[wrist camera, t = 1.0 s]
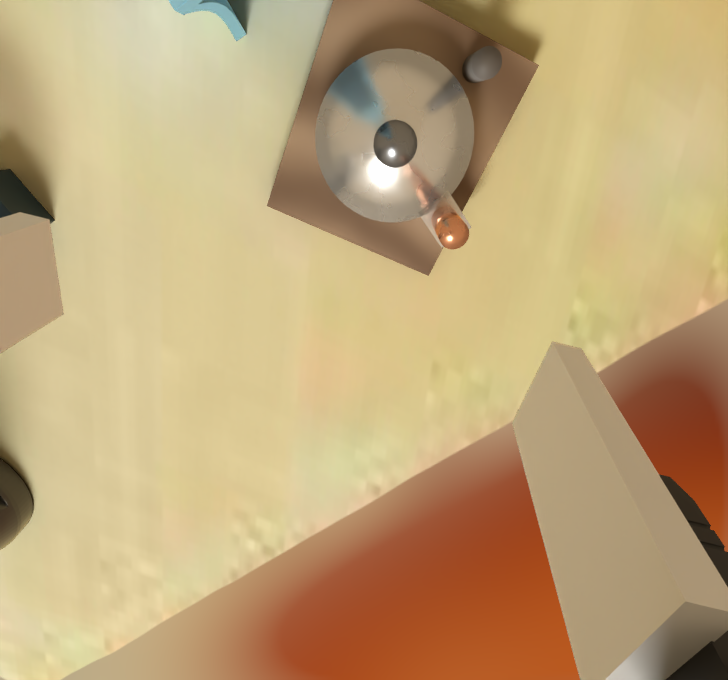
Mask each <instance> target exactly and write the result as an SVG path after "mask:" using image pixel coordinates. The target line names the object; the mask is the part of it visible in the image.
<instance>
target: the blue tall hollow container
mask: <svg viewBox="0 0 728 680" xmlns="http://www.w3.org/2000/svg"><path fill="white" fill-rule="evenodd" d="M169 2H170V3H171V5H172V7H173V8H174V10H175V11H177V12H179V13H181V14H183V15H185V14H187V13H191V12H195V11H210V12H213V13H216V14H217V15H218V16H219V17H220V18H221V19H222V20H223V21H224V22H225V23H226V25H227V26H228V28H229V29H230V31H231V33H232V34H233V36H234V38H235V40H236V41H238V40H239V39H240V38H242V37H243V36H245V35H246V33H245V31H244V29H243V27H242V25H241V24H240V22H239V20H238V18H237V16H236V15H235V13H234V11H233V9H232V7H231V6H230V4H229V2H228V0H169Z"/></svg>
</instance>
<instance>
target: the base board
mask: <svg viewBox="0 0 728 680" xmlns="http://www.w3.org/2000/svg"><path fill="white" fill-rule="evenodd" d="M396 48H400V49H410V50H414V51H418V52H421V53H423V54H426V55H428V56H430V57H432V58H434V59H435V60H437V61H439V62H440V63H441V64H443V65H444V66H445V67H446V68H447V69H448V70H449V71H450V72H451V73H452V74H453V75H454V76H455V77H456V79H457V80H458V82H459V83H460V85H461V86H462V88H463V90H464V92H465V94H466V96H467V98H468V101H469V104H470V107H471V110H472V116H473V121H474V144H473V150H472V155H471V159H470V162H469V165H468V168H467V170H466V172H465V175H464V177H463V178H462V180H461V182H460V184H459V185H458V187H457V188H456V189H455V191H454V192H453V193H452V194H451V196H452V197H453V199H454V201H455V202H456V204H457V205H458V207H459V209H460V210H461V212H462V211H463V209H464V207H465V205H466V203H467V201H468V199H469V197H470V196H471V194H472V192H473V190H474V188H475V186H476V184H477V182H478V180H479V178H480V177H481V175H482V173H483V171H484V169H485V167H486V165H487V163H488V161H489V159H490V157H491V156H492V154H493V152H494V150H495V148H496V146H497V144H498V142H499V140H500V138H501V137H502V135H503V133H504V131H505V129H506V127H507V125H508V123H509V121H510V119H511V117H512V116H513V114H514V112H515V110H516V108H517V106H518V104H519V102H520V100H521V98H522V97H523V95H524V93H525V91H526V89H527V87H528V85H529V83H530V81H531V79H532V77H533V76H534V74H535V72H536V70H537V68H538V66H539V65H537V64H536V63H534V62H532V61H530V60H528V59H526V58H525V57H523V56H521V55H519V54H517V53H515V52H514V51H512V50H510V49H508V48H506V47H504V46H502V45H501V44H499V43H497V42H495V41H493V40H491V39H490V38H488V37H486V36H484V35H482V34H480V33H478V32H477V31H475V30H473V29H471V28H469V27H467V26H466V25H464V24H462V23H460V22H458V21H456V20H454V19H453V18H451V17H449V16H447V15H445V14H443V13H442V12H440V11H438V10H436V9H434V8H432V7H430V6H429V5H427V4H425V3H423V2H421V1H419V0H333V3H332V6H331V9H330V12H329V15H328V18H327V21H326V25H325V28H324V31H323V34H322V37H321V40H320V43H319V46H318V49H317V52H316V55H315V59H314V62H313V65H312V68H311V71H310V74H309V77H308V80H307V83H306V86H305V90H304V93H303V96H302V99H301V102H300V105H299V108H298V111H297V114H296V117H295V121H294V124H293V127H292V130H291V133H290V136H289V139H288V142H287V145H286V148H285V152H284V155H283V158H282V161H281V164H280V167H279V170H278V173H277V176H276V179H275V183H274V186H273V189H272V192H271V195H270V198H269V201H268V204H267V206H269V207H271V208H273V209H275V210H278V211H280V212H282V213H285V214H287V215H289V216H292V217H294V218H296V219H299V220H301V221H303V222H305V223H308V224H310V225H312V226H315V227H317V228H319V229H322V230H324V231H326V232H329V233H331V234H333V235H336V236H338V237H340V238H342V239H345V240H347V241H349V242H352V243H354V244H356V245H359V246H361V247H363V248H366V249H368V250H370V251H372V252H375V253H377V254H379V255H382V256H384V257H386V258H389V259H391V260H393V261H396V262H398V263H400V264H403V265H405V266H407V267H409V268H412V269H414V270H416V271H419V272H421V273H423V274H426V275H428V276H429V274H430V272H431V270H432V268H433V266H434V264H435V262H436V260H437V258H438V256H439V255H440V253H441V251H442V249H443V247H444V246H443V247H442V248H441V246H440V245H439V243H438V242H437V241H436V239H435V238H434V236H433V235H432V233H431V232H430V230H429V229H428V227H427V226H426V224H425V223H424V221H423V220H422V218H421V217H419V218H416V219H412V220H409V221H403V222H381V221H376V220H372V219H369V218H366V217H364V216H362V215H360V214H358V213H356V212H354V211H353V210H351V209H350V208H348V207H347V206H346V205H345V204H343V203H342V202H341V201H340V200H339V199H338V198H337V196H336V195H335V194H334V193H333V192H332V190H331V189H330V187H329V186H328V184H327V182H326V180H325V178H324V176H323V174H322V172H321V169H320V166H319V163H318V158H317V154H316V145H315V129H316V123H317V117H318V113H319V110H320V106H321V104H322V102H323V99H324V97H325V95H326V93H327V91H328V90H329V88H330V86H331V85H332V83H333V82H334V81H335V79H336V78H337V77H338V76H339V75H340V74H341V73H342V72H343V71H344V70H345V69H346V68H347V67H348V66H349V65H351V64H352V63H353V62H355V61H356V60H358V59H360V58H362V57H363V56H365V55H368V54H370V53H373V52H376V51H380V50H385V49H396Z"/></svg>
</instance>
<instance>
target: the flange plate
mask: <svg viewBox="0 0 728 680" xmlns="http://www.w3.org/2000/svg"><path fill="white" fill-rule="evenodd" d="M473 144H474V121H473V116H472V110H471V107H470V104H469V101H468V98H467V96H466V94H465V92H464V90H463V88H462V86H461V85H460V83H459V82H458V80H457V79H456V77H455V76H454V75H453V74H452V73H451V72H450V71H449V70H448V69H447V68H446V67H445V66H444V65H443V64H441V63H440V62H439V61H437V60H435V59H434V58H432V57H430V56H428V55H426V54H423V53H421V52H418V51H414V50H410V49H400V48H396V49H385V50H380V51H376V52H373V53H370V54H368V55H365V56H363V57H362V58H360V59H358V60H356V61H355V62H353V63H352V64H351V65H349V66H348V67H347V68H346V69H345V70H344V71H343V72H342V73H341V74H340V75H339V76H338V77H337V78H336V79H335V81H334V82H333V83H332V85H331V86H330V88H329V90H328V91H327V93H326V95H325V97H324V99H323V102H322V104H321V106H320V110H319V113H318V117H317V123H316V129H315V145H316V154H317V158H318V163H319V166H320V169H321V172H322V174H323V176H324V178H325V180H326V182H327V184H328V186H329V187H330V189H331V190H332V192H333V193H334V194H335V195H336V196H337V198H338V199H339V200H340V201H341V202H342V203H343V204H345V205H346V206H347V207H348V208H350V209H351V210H353V211H354V212H356V213H358V214H360V215H362V216H364V217H366V218H369V219H372V220H376V221H381V222H403V221H409V220H412V219H416V218H419V217H421V218H422V220H423V221H424V223H425V224H426V226H427V227H428V229H429V230H430V232H431V233H432V235H433V236H434V238H435V239H436V241H437V242H438V243H439V245H440V246H441V248H442V247H443V246H444V247H446V248H448V249H457V248H460V247H461V246H463V245H464V244H465V243H466V241H467V239H468V237H469V229H470V228H471V226H470V224H469V223H468V221H467V220H466V218H465V216H464V215H463V213H462V212H461V210H460V209H459V207H458V205H457V204H456V202H455V201H454V199H453V197H452V196H451V194H452V193H453V192H454V191H455V189H456V188H457V187H458V185H459V184H460V182H461V180H462V178H463V177H464V175H465V172H466V170H467V168H468V165H469V162H470V159H471V155H472V150H473Z"/></svg>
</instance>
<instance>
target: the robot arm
mask: <svg viewBox="0 0 728 680" xmlns="http://www.w3.org/2000/svg"><path fill="white" fill-rule="evenodd" d="M63 314H64V313H63V306H62V300H61V293H60V286H59V280H58V273H57V267H56V260H55V253H54V247H53V240H52V233H51V227H50V220H49V219H46V218H42V217H38V216H34V215H30V214H25V213H21V212H19V213H16V214H12V215H9V216H6V217H2V218H0V353H2V352H3V351H5V350H7V349H8V348H10V347H11V346H13V345H15V344H16V343H18V342H19V341H21V340H23V339H24V338H26V337H28V336H29V335H31V334H32V333H34V332H36V331H37V330H39V329H40V328H42V327H44V326H45V325H47V324H48V323H50V322H52V321H53V320H55V319H57V318H58V317H60V316H61V315H63ZM512 425H513V428H514V432H515V436H516V440H517V444H518V447H519V451H520V455H521V459H522V462H523V466H524V470H525V473H526V477H527V481H528V485H529V489H530V493H531V496H532V500H533V504H534V507H535V511H536V515H537V519H538V523H539V526H540V530H541V534H542V538H543V541H544V545H545V549H546V553H547V556H548V560H549V563H550V568H551V572H552V575H553V579H554V583H555V586H556V590H557V594H558V598H559V601H560V605H561V609H562V612H563V616H564V620H565V624H566V628H567V632H568V635H569V639H570V643H571V647H572V650H573V654H574V658H575V662H576V666H577V669H578V673H579V677H580V680H728V552H725V551H724V545H723V544H722V542H721V541H720V539H719V538H718V536H717V534H716V533H715V531H714V530H710V526H711V525H710V524H709V522H708V521H707V519H706V518H705V516H704V515H703V513H702V512H701V510H700V509H699V507H698V506H697V504H696V503H695V501H694V500H693V499H692V498H691V497H690V496H689V495H688V494H687V493H686V492H685V491H684V490H683V489H682V488H681V487H680V486H679V485H677V483H676V482H675V481H673V480H672V479H671V478H670V477H667V476H663V475H659V474H658V473H657V471H656V469H655V468H654V466H653V465H652V463H651V461H650V460H649V458H648V456H647V455H646V453H645V451H644V450H643V448H642V447H641V445H640V443H639V442H638V440H637V438H636V437H635V435H634V433H633V432H632V430H631V429H630V427H629V425H628V424H627V422H626V420H625V419H624V417H623V415H622V414H621V412H620V411H619V409H618V407H617V406H616V404H615V402H614V401H613V399H612V398H611V396H610V394H609V393H608V391H607V390H606V388H605V386H604V384H603V383H602V381H601V380H600V378H599V376H598V375H597V373H596V371H595V370H594V368H593V367H592V365H591V363H590V362H589V360H588V358H587V357H586V355H585V353H584V352H583V350H582V349H581V348H577V347H573V346H569V345H565V344H561V343H556V342H552V343H551V345H550V347H549V349H548V351H547V353H546V355H545V357H544V359H543V361H542V363H541V365H540V367H539V369H538V371H537V373H536V375H535V377H534V379H533V381H532V383H531V385H530V387H529V389H528V391H527V393H526V395H525V397H524V400H523V402H522V404H521V406H520V408H519V410H518V412H517V414H516V416H515V418H514V420H513V422H512ZM32 512H33V503H32V498H31V495H30V492H29V490H28V488H27V486H26V485H25V483H24V482H23V480H22V479H21V478H20V476H19V475H18V474H17V473H16V472H15V471H14V470H13V469H12V468H11V467H10V466H9V465H7V464H6V463H5V462H4V461H2V460H1V459H0V550H1V549H2V548H4V547H5V546H7V545H8V544H9V543H10V542H12V541H13V540H14V539H15V538H16V536H17V535H18V534H19V533H20V532H21V530H22V529H23V528H24V527H25V526H26V525H27V523H28V522H29V520H30V518H31V516H32Z"/></svg>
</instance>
